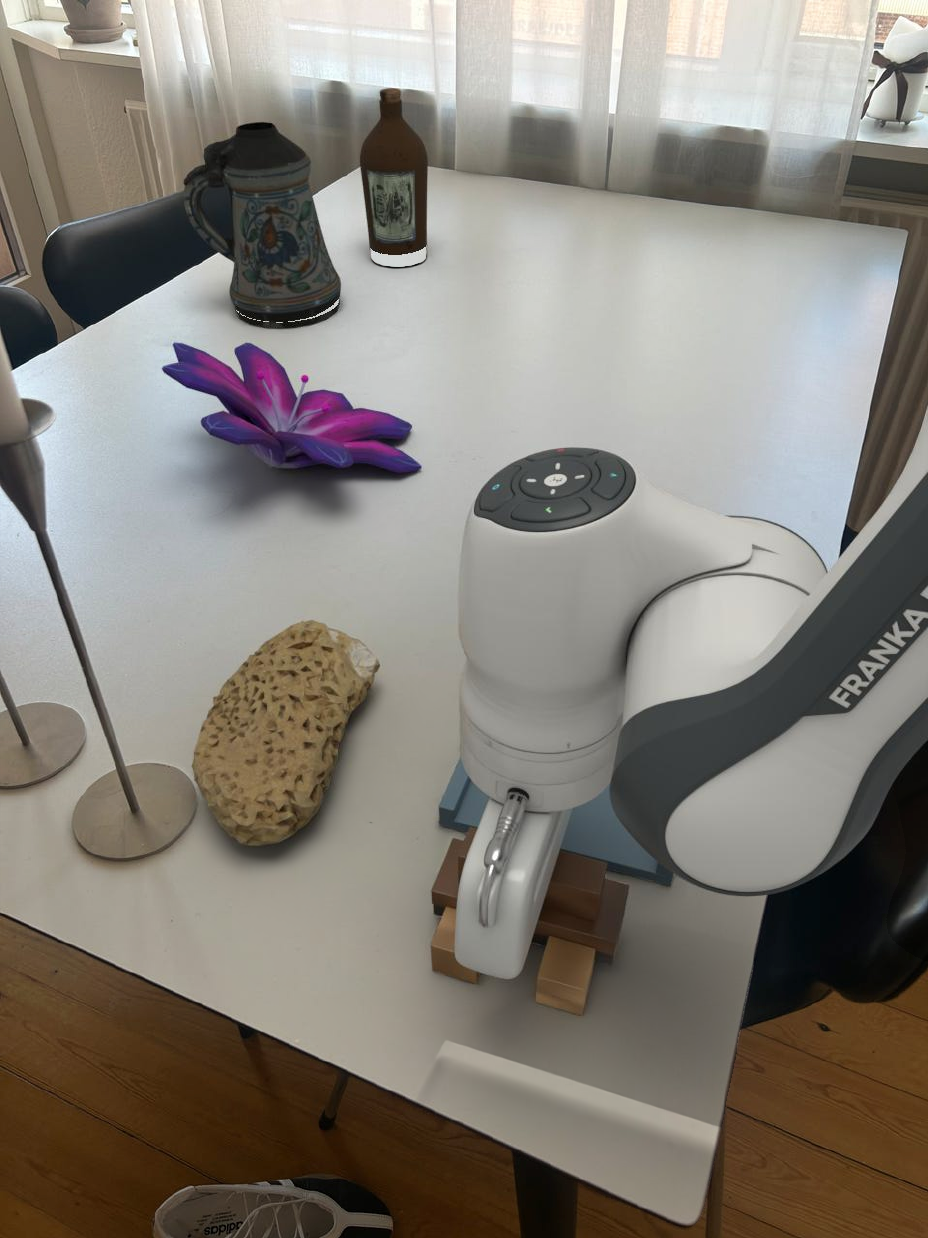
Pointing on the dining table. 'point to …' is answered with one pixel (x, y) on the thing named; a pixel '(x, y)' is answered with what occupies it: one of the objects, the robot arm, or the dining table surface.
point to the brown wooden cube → (449, 950)
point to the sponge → (280, 731)
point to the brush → (555, 899)
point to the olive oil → (394, 181)
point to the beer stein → (267, 228)
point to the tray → (585, 834)
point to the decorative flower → (288, 414)
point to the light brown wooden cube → (565, 975)
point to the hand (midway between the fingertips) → (531, 880)
